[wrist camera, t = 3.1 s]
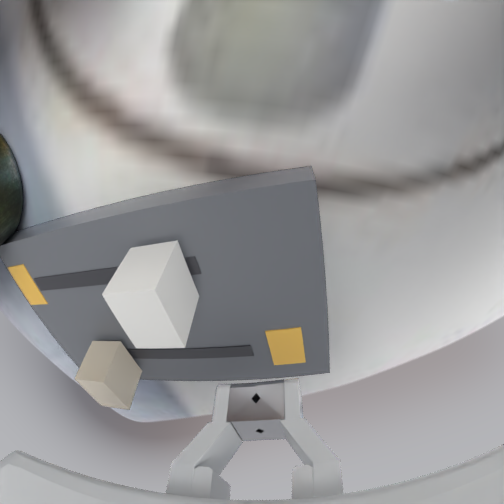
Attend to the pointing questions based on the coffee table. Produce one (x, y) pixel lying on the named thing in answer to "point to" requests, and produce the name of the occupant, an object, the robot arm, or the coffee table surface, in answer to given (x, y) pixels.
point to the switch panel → (193, 276)
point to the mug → (9, 192)
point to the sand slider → (109, 374)
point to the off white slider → (153, 296)
